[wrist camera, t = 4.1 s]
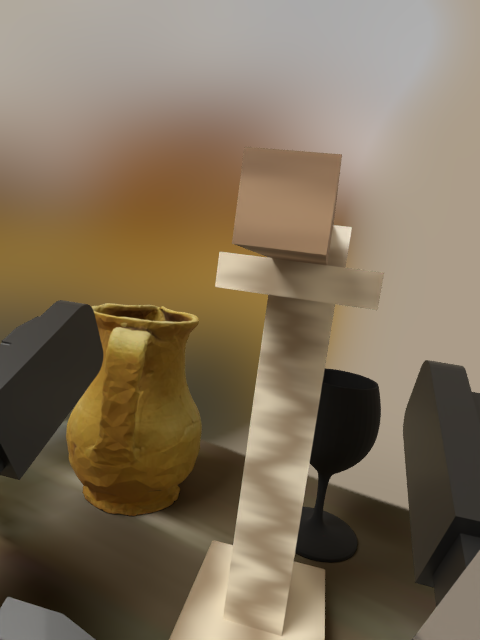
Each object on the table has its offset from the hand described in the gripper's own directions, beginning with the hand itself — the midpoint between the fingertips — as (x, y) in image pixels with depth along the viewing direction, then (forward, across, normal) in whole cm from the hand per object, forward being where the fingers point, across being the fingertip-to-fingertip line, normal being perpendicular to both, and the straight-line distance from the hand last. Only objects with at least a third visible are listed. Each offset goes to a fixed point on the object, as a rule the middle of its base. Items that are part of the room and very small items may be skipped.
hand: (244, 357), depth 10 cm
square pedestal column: (+5, 0, +36) cm, 37 cm away
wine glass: (+20, -5, +46) cm, 50 cm away
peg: (+14, 0, +5) cm, 15 cm away
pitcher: (+19, +20, +45) cm, 53 cm away
